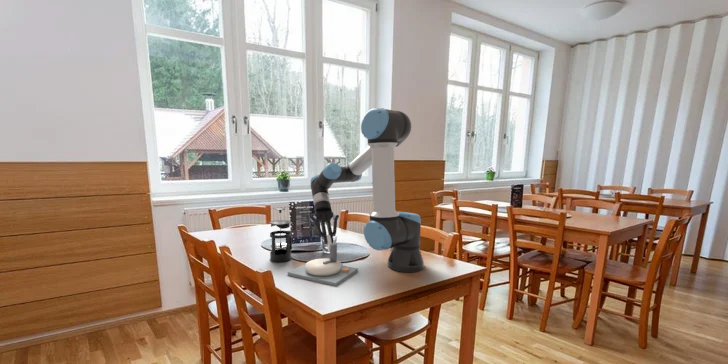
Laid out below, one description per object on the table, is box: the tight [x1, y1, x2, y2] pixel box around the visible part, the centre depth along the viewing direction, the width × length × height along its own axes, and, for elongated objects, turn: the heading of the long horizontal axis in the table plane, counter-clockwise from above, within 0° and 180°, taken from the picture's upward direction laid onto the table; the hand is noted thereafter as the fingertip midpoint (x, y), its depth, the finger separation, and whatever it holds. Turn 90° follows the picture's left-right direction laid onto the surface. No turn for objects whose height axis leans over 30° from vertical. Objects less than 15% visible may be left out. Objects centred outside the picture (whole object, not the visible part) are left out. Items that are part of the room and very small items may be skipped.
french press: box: [269, 207, 293, 264], centre depth 146 cm, size 12×9×23 cm
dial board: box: [287, 262, 359, 287], centre depth 131 cm, size 22×18×2 cm
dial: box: [306, 243, 341, 276], centre depth 130 cm, size 14×14×9 cm
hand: (330, 250), depth 138 cm, fingers closed
